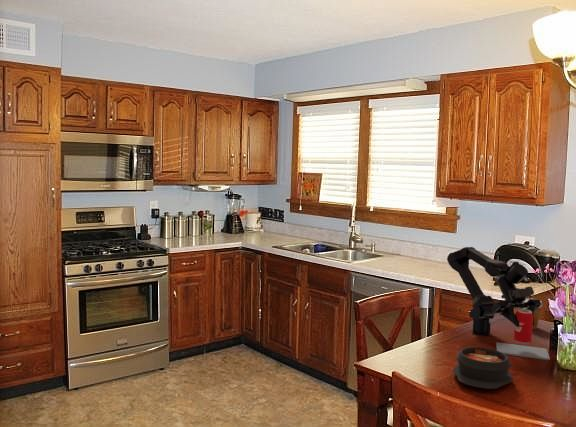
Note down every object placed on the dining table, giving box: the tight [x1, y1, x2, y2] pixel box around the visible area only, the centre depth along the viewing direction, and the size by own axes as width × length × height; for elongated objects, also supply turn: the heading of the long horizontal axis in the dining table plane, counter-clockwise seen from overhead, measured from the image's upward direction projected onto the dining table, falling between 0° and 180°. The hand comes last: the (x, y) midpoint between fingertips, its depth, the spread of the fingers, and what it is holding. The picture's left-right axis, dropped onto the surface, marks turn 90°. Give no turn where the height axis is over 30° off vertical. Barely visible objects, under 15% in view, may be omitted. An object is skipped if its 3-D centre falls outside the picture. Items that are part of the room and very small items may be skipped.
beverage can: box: [513, 308, 533, 345], centre depth 204 cm, size 6×6×12 cm
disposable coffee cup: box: [519, 297, 543, 330], centre depth 237 cm, size 10×10×12 cm
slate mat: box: [495, 342, 551, 361], centre depth 204 cm, size 18×12×1 cm, turn 70°
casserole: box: [452, 346, 514, 390], centre depth 176 cm, size 25×19×8 cm
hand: (525, 326), depth 202 cm, fingers closed on beverage can, 6 cm apart
